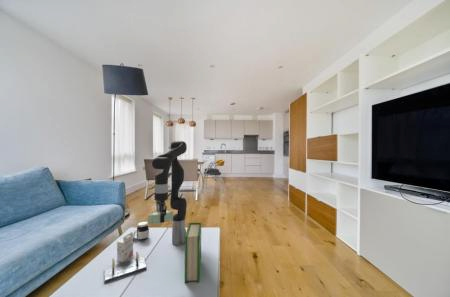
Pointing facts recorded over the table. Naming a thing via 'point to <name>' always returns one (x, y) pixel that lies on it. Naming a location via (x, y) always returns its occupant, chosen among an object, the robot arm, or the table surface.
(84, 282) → the table surface
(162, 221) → the robot arm
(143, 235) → the spread jar
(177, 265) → the table surface
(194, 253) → the hardback book
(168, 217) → the green tabbed block
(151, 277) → the table surface
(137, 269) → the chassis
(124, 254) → the ink cartridge box
